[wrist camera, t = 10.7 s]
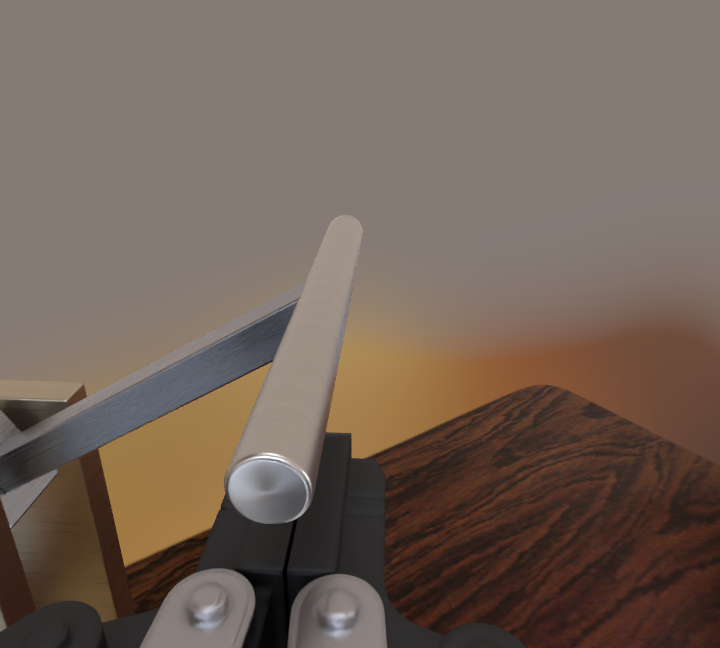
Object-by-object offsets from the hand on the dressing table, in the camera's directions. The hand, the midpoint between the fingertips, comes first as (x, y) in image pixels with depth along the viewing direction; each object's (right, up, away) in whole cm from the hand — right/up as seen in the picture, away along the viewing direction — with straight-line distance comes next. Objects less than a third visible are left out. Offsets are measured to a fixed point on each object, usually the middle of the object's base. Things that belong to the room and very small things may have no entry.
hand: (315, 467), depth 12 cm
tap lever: (-4, 0, +2) cm, 5 cm away
